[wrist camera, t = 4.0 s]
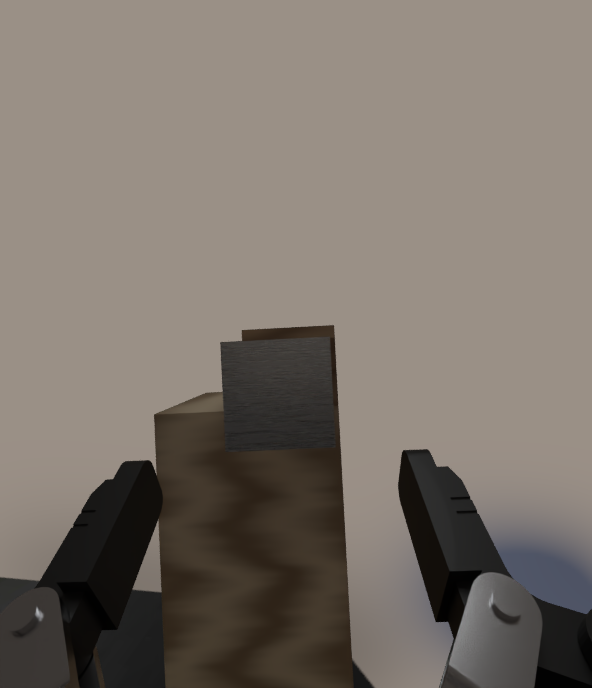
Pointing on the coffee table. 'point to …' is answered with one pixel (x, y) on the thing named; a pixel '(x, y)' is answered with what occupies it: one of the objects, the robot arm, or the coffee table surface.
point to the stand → (251, 552)
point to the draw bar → (277, 394)
